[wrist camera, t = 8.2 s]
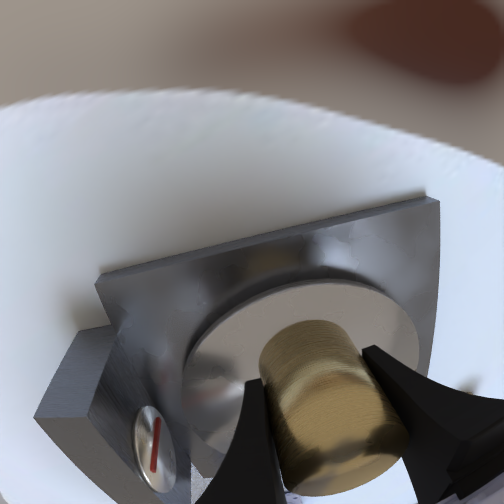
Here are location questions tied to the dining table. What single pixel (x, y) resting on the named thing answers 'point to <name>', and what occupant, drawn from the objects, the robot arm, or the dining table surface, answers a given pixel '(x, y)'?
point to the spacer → (327, 411)
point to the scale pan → (270, 323)
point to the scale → (193, 327)
